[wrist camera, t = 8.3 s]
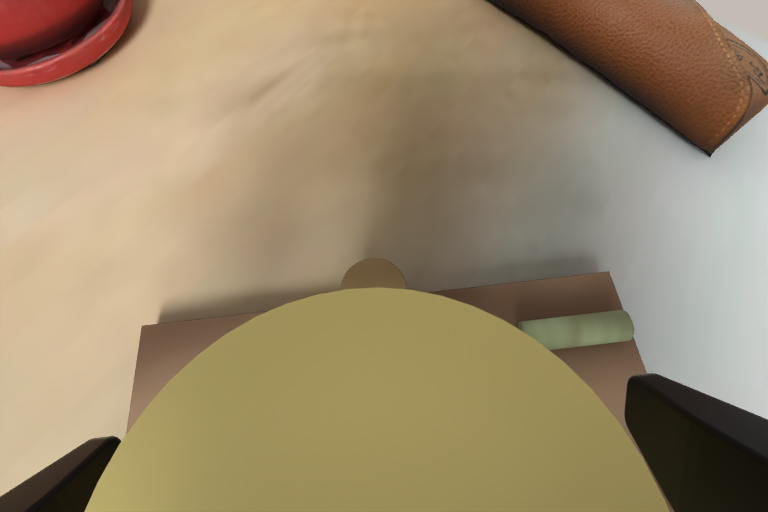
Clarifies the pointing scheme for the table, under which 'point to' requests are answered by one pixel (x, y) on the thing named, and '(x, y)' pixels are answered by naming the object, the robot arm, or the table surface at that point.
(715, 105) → the sunglasses case
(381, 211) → the table surface
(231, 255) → the table surface
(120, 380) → the table surface
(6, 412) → the table surface
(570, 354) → the board
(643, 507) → the yellow pillar candle
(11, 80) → the plant pot
